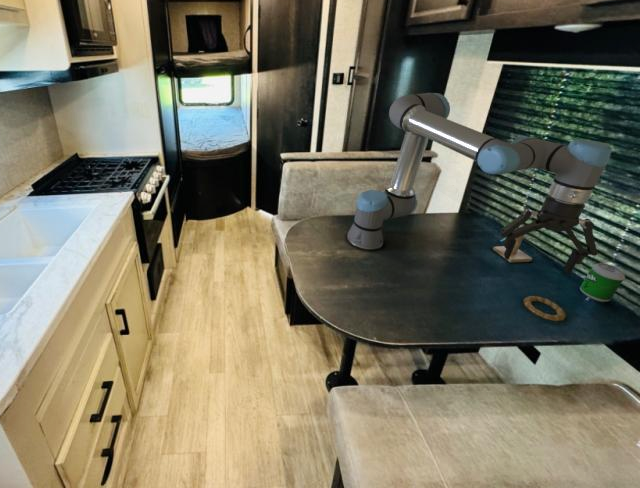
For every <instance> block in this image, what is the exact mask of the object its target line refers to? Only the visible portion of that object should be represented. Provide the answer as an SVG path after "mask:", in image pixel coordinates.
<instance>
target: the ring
mask: <svg viewBox="0 0 640 488" xmlns="http://www.w3.org/2000/svg"><path fill="white" fill-rule="evenodd" d="M522 302H523V304H524V306H525V307H526V308H527V309H528V310H529V311H530V312H531V313H533V314H534V315H536V316H539V317H541V318H543V319H545V320H549V321H553V322H563V321H565V319H566V318H567V314H566V312H565V311H564V309H563V308H562V307H561V306H559V305H558V304H557V303H555V301H552V300H550V299H548V298H546V297H543V296H542V297H541V296H538V295H528V296H526V297H524V299H523V300H522ZM533 302H539V303H543V304H545V305H547V306H550V307H551V308H552V309H553V310H555V312H556V314H550V313H545V312H543V311H541V310H539V309H537V308H536V307H535V306H534V305H533V304H532V303H533Z"/></svg>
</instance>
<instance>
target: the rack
mask: <svg viewBox="0 0 640 488" xmlns="http://www.w3.org/2000/svg"><path fill="white" fill-rule="evenodd" d="M520 227H521V226H519V227H518V228H520ZM524 238H525V235H523V236H520V237H518V238H516V239H515V240H516V243H515V246H514V248H513V250H512V253H511V255H510V258H509V260H507V259H505V256H504V253H505V250H506V248H505V247H504V245H498V246H497V245H496V246H493V247H492V250H493V251H494V252H495V253H497V254H498V255H499V256H501V257H502V258H504V259H505V260H506V261H508V262H509V263H528V262H532V260H533V258H532V257H531V256H529V255H528V254H527V253H525V252H523V251H522V250H521V249H519V248H520V246H521V244H522V241H523V240H524Z"/></svg>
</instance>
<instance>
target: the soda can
mask: <svg viewBox="0 0 640 488" xmlns="http://www.w3.org/2000/svg"><path fill="white" fill-rule="evenodd" d="M625 279H626V275H625V274H624V272H623V270H622V269H620V268H618V267H616V266H614V265H612V264H608V263H605V262H600V263H595V264H593V265H592V266H591V268H590V270H589V271H588V273H587V275H586V277H585V278H584V280H583V281H582V283H581V285H580V287H579V290H580V292H581V293H582V295H584V296H586V297H587V298H588V299H591V301H595V302H599V303H605V302H610V301H611V300H612V298H613V297H614V295H615V294H616V292H617V291H618V289H619V287H620V286H621V285H622V283H623V282H624V280H625Z"/></svg>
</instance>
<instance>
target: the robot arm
mask: <svg viewBox="0 0 640 488" xmlns="http://www.w3.org/2000/svg"><path fill="white" fill-rule="evenodd" d="M450 113H451V105H450V102H449V101H448V98H447V97H446V96H445V95H444V94H442V93H437V92H426V93H413V94H405V95H402V96H399V97H398V98H397V99H395V100H394V101H393V102H392V104H391V106H390V107H389V111H388V115H389V119H390V121H391V123H392V124H393V125H394V126H395V127H397V128H398V129H400V130H402V131H404V136H403V140H402V144H401V147H400V150H399V153H398V157H397V160H396V164H395V167H394V170H393V173H392V179H391V181H390V183H386V185H385V189H384V191H381V190H377V189H375V190H374V189H369V190H365V191H362V192H361V193H359V195H358V197H357V200H356V206H355V212H354V219H353V223H352V225H351V227H350V228H349V230H348V231H347V235H346V239H347V242H348V243H349V244H350V245H351V246H353V247H355V248H357V249H359V250H363V251H377V250H380V249H382V247H383V245H384V236H383V229H382V227H383V223H384V221H387V220H391V219H397V218H402V217H406V216H408V215H411V214H413V213H414V212H415V210H416V209H417V206H418V199H417V194H416V191H415V189H414V188H413V187H414V185H415V182H416V178H417V176H418V173H419V170H420V167H421V164H422V161H423V158H424V155H425V152H426V149H427V146H428V143H429V140H431V141H432V142H435V143H436V144H439V145H441V146H443V147H445V148H448V149H450V150H452V151H454V152H456V153H458V154H460V155H462V156H464V157H467V158H468V159H470V160H473V161H475V162H476V163H477V165H478V167H479V168H480V169H481V171H482V172H484V173H486V174H489V175H506V174H509V173H513V172H518V171H522V170H528V169H533V168H535V169H538V170H543V171H545V172H550V173H554V174H555V175H554V178H553V181H552V183H551V185H550V187H549V189H548V191H547V195H546V196H545V199H544V200H543V203H542V205H541V208H540V210H538V211H536V210H531V209H530V208H529V207H525V208H524V209H523V210H522V212H521V214H519V215H518V216H517V217H516V218H514V219H512V221H510V222H509V223H508V224H506V225H505V226H504V227H502V229H500V235H501V236H502V237H505V240H504V242H503V246H504V247H505V248H506V250H505V253H504V256H505V258H504V260H506V259H507V260H506V261H508V260H509V258H510V255H511V253H512V250H513V248H514V246H515V243H516V240H515V239H516V238H518V237H520V236H523V235H524V236H525V235H528V234H529V233H532V232H535V231H537V230H538V231H539V230H541V229H544V230H546V231H554V232H557V233H561V232H565V233H566V234H567V236H568V237H569V239H570V240H571V242H572V244H573V245H574V247H575V248H576V249H572V251H571V253H570V255H569V256H568V258H567V260H566V262H565V264H564V266H563V271H564V273H565V274H566V275H569V276H570V275H571V274H572V272H573V271H574V269H575V266H576V265H581V264H582V262H583V260H584V258H587V257H589V256H593V257H595V256H598V254H599V253H598V250H597V245H596V240H595V236H594V233H593V230H594V226H595V223H594V222H593V221H592V220H591V218H585V219H581V218H580V217H581V215H582V214H583V211H584V210H585V207H586V204H587V203H588V201H589V199H590V197H591V195H592V193H593V191H594V189H595V187H596V185H597V183H598V181H599V179H600V177H601V176H602V173H603V172H604V170H605V168H606V167H607V165H608V161H609V159H610V157H611V154H612V152H613V148H612V147H611V145H609V144H608V143H605V142H601V141H596V140H590V139H573V140H571V141H570V142H569V144H562V143H557V142H552V141H548V140H544V139H540V138H537V137H533V136H532V137H530V136H524V135H523V136H518V137H516V138H515V139H513V140H512V141H511V142H510V143H509V142H506V141H503V140H501V139H499V138H496V137H493V136H491V135H489V134H486V133H483V132H480V131H479V130H476V129H473V128H471V127H468V126H465V125H463V124H461V123H459V122H455V121H453V120H451V119H448V117H449V115H450ZM534 217H536V219H533V218H534ZM529 219H533V220H532V221H531V222H529V223H527V224H525V223H526V222H527V221H529ZM524 224H525V225H524ZM522 225H523V226H522ZM578 225H579V227H581V229H582V231H583V237H584V241H585V244H586V247H584V246H583V245H582V243H581V242H580V240H579V239H578V237H577V236H576V235H575V233H574V231H573V230H572V228H574V227H576V226H578ZM519 227H520V228H519Z"/></svg>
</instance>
